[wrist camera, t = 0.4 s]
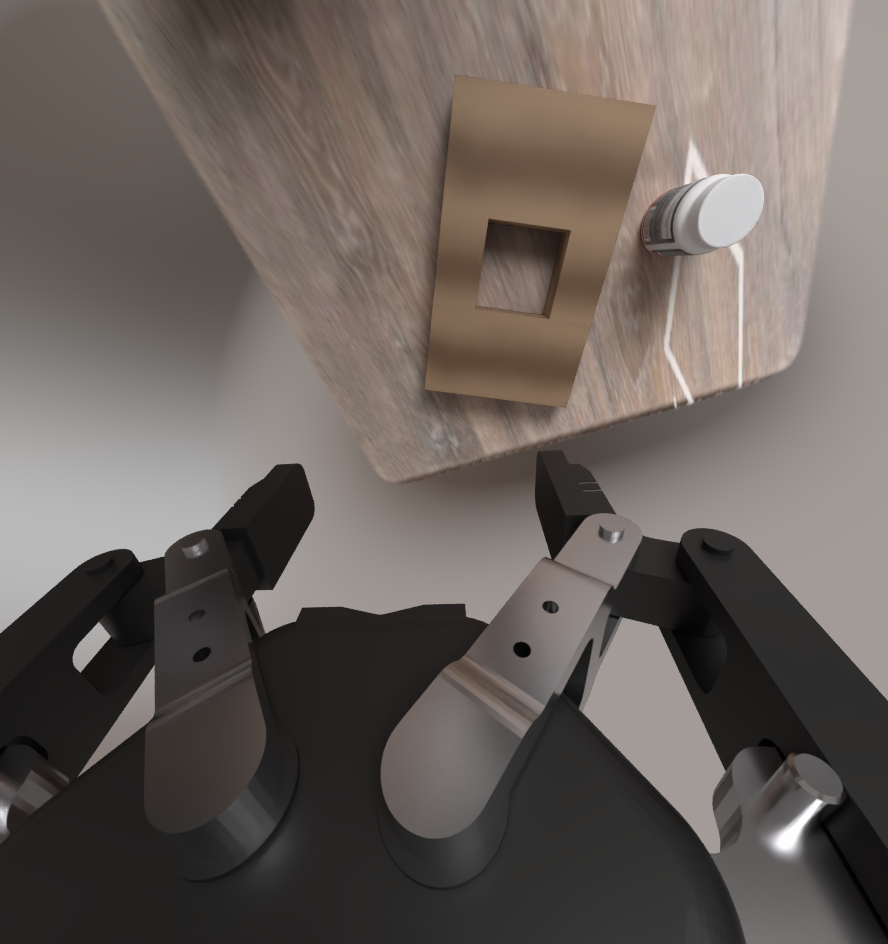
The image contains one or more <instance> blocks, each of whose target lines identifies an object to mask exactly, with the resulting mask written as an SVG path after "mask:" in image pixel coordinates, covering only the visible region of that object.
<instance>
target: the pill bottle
mask: <svg viewBox="0 0 888 944" xmlns="http://www.w3.org/2000/svg"><path fill="white" fill-rule="evenodd" d="M763 203H764V192H763V189H762V186H761V184H760V182H759V181H758V180H757V179H756V178H755V177H753V176H751V175H748V174H736V175H728V174H718V175H713V176H710V177H707V178H703V179H700V180H698V181H695V182H693V183H690V184H687V185H684V186H681V187H678V188H675V189H672V190H670V191H668V192H666V193H664V194H662V195H661V196H660V197H658V198H657V199H656V200H655V201H654V202H653V203H652V204H651V206H650V207H649V209H648V210H647V212H646V214H645V216H644V219H643V222H642V227H641V236H642V241H643V243H644V245H645V247H646V248H647V250H648V251H650V252H651V253H653V254H655V255H658V256H679V255H701V254H706V253H710V252H712V251H715V250H717V249H718V248H724V247H728V246H731V245H733V244H735V243H737V242H738V241H740V240H741V239H742V238H744V237H745V236H746V235H747V234H748V233H749V232H750V231H751V230H752V228H753V227H754V226H755V224H756V222H757V221H758V219H759V217H760V214H761V212H762V208H763Z"/></svg>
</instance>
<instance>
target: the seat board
mask: <svg viewBox="0 0 888 944" xmlns="http://www.w3.org/2000/svg"><path fill="white" fill-rule="evenodd" d="M655 109H656V106H654V105H648V104H642V103H635V102H629V101H622V100H616V99H609V98H603V97H596V96H590V95H583V94H577V93H570V92H564V91H557V90H551V89H545V88H538V87H532V86H525V85H519V84H512V83H506V82H499V81H493V80H486V79H480V78H473V77H467V76H460V75H455V81H454V92H453V102H452V112H451V122H450V133H449V143H448V153H447V164H446V174H445V184H444V194H443V205H442V215H441V225H440V236H439V246H438V256H437V266H436V277H435V287H434V297H433V307H432V318H431V328H430V338H429V349H428V359H427V369H426V379H425V390H433V391H440V392H448V393H456V394H464V395H471V396H479V397H487V398H495V399H502V400H510V401H518V402H525V403H533V404H541V405H549V406H556V407H564V408H566V406H567V403H568V400H569V396H570V393H571V390H572V386H573V383H574V380H575V376H576V373H577V369H578V366H579V363H580V359H581V356H582V353H583V349H584V346H585V343H586V339H587V336H588V333H589V329H590V326H591V323H592V319H593V316H594V313H595V309H596V306H597V303H598V299H599V296H600V293H601V289H602V286H603V282H604V279H605V276H606V272H607V269H608V266H609V262H610V259H611V256H612V252H613V249H614V246H615V242H616V239H617V236H618V232H619V229H620V226H621V222H622V219H623V216H624V212H625V209H626V206H627V202H628V199H629V196H630V192H631V189H632V185H633V182H634V179H635V175H636V172H637V169H638V165H639V162H640V159H641V155H642V152H643V149H644V145H645V142H646V139H647V135H648V132H649V129H650V125H651V122H652V119H653V115H654V112H655ZM488 222H490V223H497V224H504V225H511V226H518V227H525V228H532V229H539V230H546V231H553V232H560V233H562V235H561V240H560V244H559V248H558V252H557V257H556V261H555V265H554V269H553V274H552V278H551V282H550V286H549V291H548V295H547V299H546V303H545V308H544V312H543V315H539V314H532V313H524V312H517V311H510V310H502V309H495V308H488V307H480V306H476V299H477V293H478V286H479V279H480V273H481V266H482V259H483V253H484V246H485V239H486V233H487V226H488Z"/></svg>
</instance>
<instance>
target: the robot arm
mask: <svg viewBox="0 0 888 944" xmlns="http://www.w3.org/2000/svg"><path fill="white" fill-rule="evenodd" d="M536 462H537V463H536V482H535V503H536V508H537V512H538V516H539V519H540V522H541V526H542V529H543V532H544V536H545V539H546V542H547V545H548V549H549V552H550V555H551V559H549V558H547V557H544V558H542V559H541V560H540V562H538V563H537V565H536V566H535V567H534V569H533V570H532V571H531V572H530V574H529V575H528V576H527V577H526V579H525V580H524V581H523V582H522V584H521V585H520V586H519V587H518V589H517V590H516V591H515V592H514V594H513V595H512V596H511V597H510V599H509V600H508V601H507V602H506V604H505V605H504V606H503V608H502V609H501V610H500V611H499V613H498V614H497V615H496V616H495V618H494V619H493V620H492V621H491V623H490V624H487V623H485V622H482V621H479V620H476V619H473V618H469V617H466V611H465V604H437V605H436V604H434V605H421V606H417V607H412V608H409V609H404V610H400V611H396V612H392V613H387V614H383V615H378V614H372V613H367V612H363V611H358V610H354V609H349V608H344V607H315V608H314V607H313V608H302V609H301V612H300V614H299V616H298V618H297V620H296V622H292V623H289V624H286V625H284V626H281V627H279V628H276V629H274V630H272V631H270V632H268V633H266V634H265V631H264V628H263V624H262V621H261V618H260V615H259V612H258V609H257V606H256V603H255V601H254V599H253V597H252V595H253V594H254V592H255V590H273V588H274V587H275V585H276V583H277V581H278V580H279V578H280V576H281V574H282V573H283V571H284V569H285V567H286V565H287V564H288V561H289V560H290V558H291V556H292V555H293V553H294V551H295V549H296V548H297V546H298V544H299V542H300V540H301V539H302V537H303V535H304V533H305V531H306V530H307V528H308V526H309V524H310V522H311V521H312V519H313V516H314V510H315V508H314V500H313V497H312V494H311V491H310V488H309V484H308V481H307V478H306V475H305V471H304V469H303V467H302V465H300V464H283V465H282V464H280V465H276V466H275V467H274V468H273V469H272V470H271V471H270V473H268V475H267V476H266V477H265V478H264V479H262V480H261V481H259V482H257V483H256V484H254V485H253V486H252V487H250V488H249V489H248V490H247V491H246V492H245V493H244V494H243V495H242V496H241V499H239V500H238V501H237V502H236V503H235V504H234V507H231V508H230V509H229V511H228V512H227V513H226V514H225V515H224V516H223V517H222V518H221V519H220V521H219V522H218V523H217V524H216V525H215V526H214V527H213V528H212V529H209V530H202V531H197V532H194V533H192V534H189V535H187V536H185V537H183V538H181V539H179V540H178V541H176V542H175V543H174V544H173V545H172V546H170V547H169V549H168V550H167V551H166V553H165V556H164V557H160V558H156V559H152V560H148V561H143V562H139V561H138V560H137V558H136V557H135V555H134V554H133V552H132V551H130V550H128V549H118V550H113V551H109V552H106V553H103V554H100V555H98V556H95V557H93V558H91V559H89V560H87V561H86V562H84V563H83V564H81V565H80V566H78V567H77V568H76V569H74V570H73V571H72V572H71V573H70V574H69V575H67V576H66V577H65V578H64V579H63V580H62V581H60V582H59V583H58V584H57V585H56V586H55V587H54V588H52V589H51V590H50V591H49V592H48V593H47V594H45V596H43V597H42V598H41V599H40V600H39V601H37V602H36V603H35V604H34V605H33V606H32V607H30V608H29V609H28V610H27V611H26V612H25V613H24V614H22V615H21V616H20V617H19V618H18V619H17V620H15V621H14V622H13V623H12V624H11V625H10V626H8V627H7V628H6V629H5V630H4V631H3V632H2V633H0V944H888V701H887V700H886V698H885V697H884V696H883V695H882V694H881V693H880V692H879V691H878V690H877V688H876V687H875V686H874V685H873V684H872V683H871V682H870V681H869V679H868V678H867V677H866V676H865V675H864V674H863V673H862V672H861V671H860V669H859V668H858V667H857V666H856V665H855V664H854V663H853V662H852V661H851V659H850V658H849V657H848V656H847V655H846V654H845V653H844V652H843V651H842V649H841V648H840V647H839V646H838V645H837V644H836V643H835V642H834V641H833V640H832V638H831V637H830V636H829V635H828V634H827V633H826V632H825V631H824V629H823V628H822V627H821V626H820V625H819V624H818V623H817V622H816V621H815V619H814V618H813V617H812V616H811V615H810V614H809V613H808V612H807V610H806V609H805V608H804V607H803V606H802V605H801V604H800V603H799V602H798V601H797V599H796V598H795V597H794V596H793V595H792V594H791V593H790V592H789V591H788V589H787V588H786V587H785V586H784V585H783V584H782V583H781V582H780V580H779V579H778V578H777V577H776V576H775V575H774V574H773V573H772V572H771V570H770V569H769V568H768V567H767V566H766V565H765V564H764V563H763V562H762V560H761V559H760V558H759V557H758V556H757V555H756V554H755V553H754V552H753V550H752V549H751V548H750V547H749V546H748V545H747V544H745V543H744V542H743V541H741V540H740V539H738V538H736V537H734V536H732V535H730V534H727V533H725V532H722V531H718V530H714V529H707V528H698V529H691V530H688V531H687V532H685V533H684V534H683V535H682V538H681V541H680V543H677V542H670V541H665V540H659V539H653V538H649V537H645V536H643V535H642V531H641V530H640V528H639V527H638V526H637V525H636V524H635V523H634V522H632V521H631V520H629V519H627V518H625V517H622V516H619V515H616V513H615V512H614V510H613V508H612V506H611V505H610V503H609V502H608V500H607V498H606V497H605V495H604V493H603V492H602V491H601V488H600V487H599V485H598V483H596V481H595V478H594V477H593V475H592V474H591V472H590V471H589V470H587V469H586V468H584V467H583V466H581V465H580V464H570V465H569V463H568V461H567V459H566V457H565V455H564V453H563V452H562V450H553V451H538V453H537V461H536ZM622 618H627V619H632V620H636V621H640V622H644V623H648V624H652V625H656V626H659V628H660V631H661V633H662V635H663V637H664V639H665V641H666V644H667V646H668V648H669V650H670V652H671V654H672V656H673V659H674V661H675V663H676V665H677V667H678V670H679V672H680V674H681V676H682V678H683V680H684V682H685V685H686V687H687V689H688V691H689V693H690V695H691V697H692V700H693V702H694V704H695V706H696V708H697V711H698V713H699V715H700V717H701V719H702V721H703V723H704V725H705V728H706V730H707V732H708V734H709V736H710V739H711V741H712V743H713V745H714V747H715V749H716V752H717V754H718V756H719V758H720V760H721V762H722V764H723V767H724V769H725V771H726V772H725V774H724V775H723V777H722V778H721V780H720V782H719V783H718V785H717V786H716V788H715V790H714V794H713V802H712V805H713V812H714V816H715V819H716V823H717V827H718V830H719V834H720V853H716V854H709V852H708V851H707V849H706V848H705V846H704V844H703V843H702V842H701V840H700V839H699V837H698V836H697V834H696V833H695V832H694V830H693V829H692V828H691V826H690V825H689V824H688V823H687V821H686V820H685V819H684V818H683V817H682V815H680V813H679V812H678V811H677V810H676V809H675V808H674V807H673V806H672V805H671V804H670V803H669V802H668V801H667V800H666V799H665V798H664V797H663V796H662V795H661V794H660V792H659V791H658V790H656V788H655V787H654V786H653V785H652V784H651V783H650V782H649V781H648V780H647V779H646V778H645V777H644V776H643V775H642V774H641V773H640V772H639V771H638V770H637V769H636V768H635V767H634V766H633V765H632V764H631V763H630V761H628V759H627V758H626V757H625V756H624V755H623V754H622V753H621V752H620V751H619V750H618V749H617V748H616V747H615V746H614V745H613V744H612V743H611V742H610V741H609V740H608V739H607V738H606V737H605V736H604V735H603V734H602V732H601V731H599V729H598V728H597V727H596V726H595V725H594V724H593V723H592V722H591V721H590V720H589V719H588V718H587V717H586V716H585V715H584V714H583V713H582V711H583V709H584V707H585V705H586V702H587V700H588V697H589V695H590V692H591V690H592V686H593V683H594V680H595V677H596V675H597V672H598V670H599V667H600V665H601V663H602V661H603V659H604V657H605V655H606V652H607V650H608V648H609V646H610V644H611V642H612V640H613V637H614V635H615V633H616V631H617V629H618V627H619V625H620V622H621V620H622ZM98 622H100V624H101V625H102V626H103V627H104V629H105V630H106V631H107V632H108V633H109V635H110V636H111V637H110V639H109V640H108V641H107V642H106V643H105V644H104V646H103V647H102V648H101V649H100V651H99V652H98V653H97V654H96V655H95V656H94V657H93V659H92V660H91V661H90V662H89V663H88V664H87V666H86V667H85V668H84V669H83V670H82V672H81V673H80V672H79V671H78V670H77V669H76V668H75V667H74V665H73V661H72V660H73V659H72V657H73V653H74V650H75V648H76V647H77V645H78V644H79V642H80V641H81V640H82V639H83V638H84V637H85V636H86V635H87V634H88V633H89V632H90V631H91V630H92V628H93V627H94V626H95V625H96V624H97V623H98ZM154 665H155V713H154V717H153V718H152V719H151V720H150V721H149V722H148V723H147V724H146V725H145V726H143V727H142V728H141V729H139V730H138V731H137V732H136V733H134V734H133V735H132V736H130V737H129V738H128V739H127V740H125V741H124V742H123V743H121V744H120V745H119V746H118V747H116V748H115V749H114V750H112V751H111V752H110V753H108V754H107V755H106V756H105V757H103V758H102V759H101V760H100V761H98V762H97V763H96V764H94V765H93V766H92V767H90V768H89V769H88V770H87V771H85V772H84V773H83V774H81V775H80V776H79V777H78V775H79V774H80V772H81V771H82V769H83V768H84V767H85V765H86V764H87V762H88V760H89V759H90V758H91V756H92V755H93V753H94V752H95V751H96V749H97V748H98V746H99V745H100V743H101V742H102V740H103V739H104V737H105V736H106V735H107V733H108V732H109V730H110V729H111V727H112V726H113V724H114V723H115V721H116V720H117V719H118V717H119V715H120V714H121V713H122V711H123V710H124V708H125V707H126V705H127V704H128V702H129V701H130V699H131V698H132V697H133V695H134V694H135V692H136V691H137V689H138V688H139V687H140V685H141V684H142V682H143V681H144V679H145V678H146V676H147V675H148V673H149V672H150V670H151V669H152V668H153V666H154Z"/></svg>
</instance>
